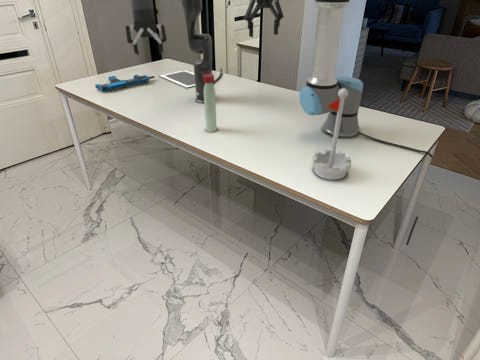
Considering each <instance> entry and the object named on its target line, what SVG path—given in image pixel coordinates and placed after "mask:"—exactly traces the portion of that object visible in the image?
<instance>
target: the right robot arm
mask: <svg viewBox="0 0 480 360" xmlns="http://www.w3.org/2000/svg"><path fill="white" fill-rule="evenodd" d="M350 1H351V0H314V2H315V4H316V5H317V6H318V11H317V21H316V27H315V28H316V29H315V37H314V39H315V40H314V48H313V57H312V58H313V59H312V67H311V75H310V76H309V77H308V78H306V84H305V86H303V87H302V88H301V89H300V91H299V94H298V99H299V104H300V106H301V108H302V110H303V112H304V113H305V114H307V115H308V116H321V115H324V114H328V115H327V117H326V120H325V121H324V123H323V126H322V130H323V132H324V133H325V134H326V135H329V136H332V137H333V136H334V130H335V124H336V118H337V112H338V111H336V110H333V109H331V108H329V107H327V106H329V105H330V104H332V103H333V102H335V101H336V100H338V99H339V98H340V97H339V95H338V92H339V90H340V89H342V88H344V89H346V90H347V91H348V95H347V96H346V97H345V99H344V105H343V111H342V117H341V123H340V128H339V134H338V138H339V139H341V138H342V139H349V138H354V137H356V136H357V135H360V136H363V137H365V138H367V139H369V140H373V141H375V142H379V143H383V144H386V145H391V146H394V147H398V148H402V149H405V150H409V151H414V152H417V153H424V154H427V155H428V156H429V157H430V158H432V159H433V158H434V156H433V154H431V153H430V152H429V151H426V150H421V149H416V148H414V147H410V146H406V145H402V144H397V143H394V142H390V141H386V140H383V139H379V138H375V137H372V136H370V135H367V134H365V133H362V132H361V131H360V125H359V118H358V117H359V116H358V114H359V111H360V110H359V109H360V105H361V101H362V96H363V92H364V91H363V89H364V82H363V81H362V80H361V79H359V78H356V77H353V76H346V75H336V76H335V71H336V66H337V59H338V51H339V45H340V37H341V31H342V24H343V16H344V11H345V10H344V9H345V8H346V7H347V6H348V4H349V3H350ZM273 3H274V4H273ZM261 9H269V11H270V12H271V14H272V15H273V16H274V18H275V19H273V35H276V36H278V35H279V27H280V25H281V20H282V19H284V18H285V16H284V13H283V9H282V7H281V4H280V0H249V4H248V7H247V9H246V11H245V14H244V16H243V20H244V21H246V22H247V29H248V36H249V37H250V38H253V37H254V21H253V20H254V18H255V17H256V15H257V14H258V13H259V11H260V10H261ZM419 217H420V216H416V217H415V219H414V222H413V224H412V226H411V229H410V232H409V234H408V238H407V241H406V244H405V245H406V246H408V245H409V243H410V240H411V237H412V235H413V232H414V230H415V226H416V225H417V221H418V219H419Z"/></svg>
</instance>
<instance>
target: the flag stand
mask: <svg viewBox="0 0 480 360" xmlns="http://www.w3.org/2000/svg"><path fill="white" fill-rule="evenodd" d="M338 95H339V97H340V98H339V99H338V100H336V101H335V102H333V103H332V104H330V105H329V106H327V107H329V108H331V109H333V110H336V111H338V112H337V118H336V124H335V130H334V136H332V143H331V148H330V149H329V148H328V149H324V152H321V151H320V150H317V151H315V152H314V154H313V155H314V156H312V166H313V168H314V169H313V170H314V173H315V174H316V175H317V176H318V177H320V178H322V179H325V180H330V181H333V180H340V179H343V178H345V176H346V173H347V172H348V171H350V169H351V166H352V158H351V157H350V156H346V153H345V152H343V151H339V150H338V151H337V145H338V138H339V137H338V134H339V128H340V123H341V117H342V111H343V105H344V99H345V97H346V96H347V95H348V91H347V90H346V89H344V88H342V89H340V90H339V92H338ZM336 151H337V152H336Z"/></svg>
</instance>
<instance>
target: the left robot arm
mask: <svg viewBox="0 0 480 360" xmlns="http://www.w3.org/2000/svg"><path fill="white" fill-rule="evenodd" d="M180 5H181V10H182V12H183V18H184V22H185V27H186V35H187V36H186V37H187V42H188V43H187V44H188V47H189V51H190V52H191V53H192V54H197V55H202V58H200V59H197V60H195V61H194V62H193V73H194V75H195V86H194V88H195V100H196V102H198V103H202V104H204V86H205V83H204V81H203V75H205V74H212V75H213V39H212V36H211V35H210V34H208V33H197V29H196V26H197V21H198V19H199V17H200V15H201V12H202V10H203V2H202V0H180ZM130 6H131V11H132V19H133V24H131V25H130V24H126V25H125V33H126V34H125V35H126V42H127V43H128V44H132V45H133V52H134V54H136V55H137V56H139V55H140V51H139V45H138V43H137V42H138V41H139V39H140V38H142V39H143V38H144V39H145V38H152V37H153V39H154V40H156V41H157V43H158V51H159V52H158V53H159V55H162V53H163V52H164V46H163V45H164V44H163V43H166V42H167V39H168V38H167V33H166V27H165V24H164V23H161V24H157V23H156V18H155V9H154V3H153V0H130ZM133 30H134V32H136V35H135V37H134V39H132V34H131V33H132V32H133ZM157 30H159V31H160V32H161V36H162V38H161V37H160V36H159V35H158V33H157ZM222 73H223V68H220V74H219V76H218V77H217V78H216V79H214V82H213V84H215V83H216V82H217V81H218V80H219V79H220V78H221V77H222V75H223V74H222Z"/></svg>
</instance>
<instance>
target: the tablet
mask: <svg viewBox="0 0 480 360" xmlns="http://www.w3.org/2000/svg"><path fill="white" fill-rule="evenodd" d="M159 77H160V78H162V79H165V80H167V81H169V82H172V83H174V84H177V85H179V86H181V87H183V88H186V89H188V88H192V87H195V75H194V72H193V71H190V70H187V69H184V70H180V71H175V72H169V73H165V74H160V75H159Z"/></svg>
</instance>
